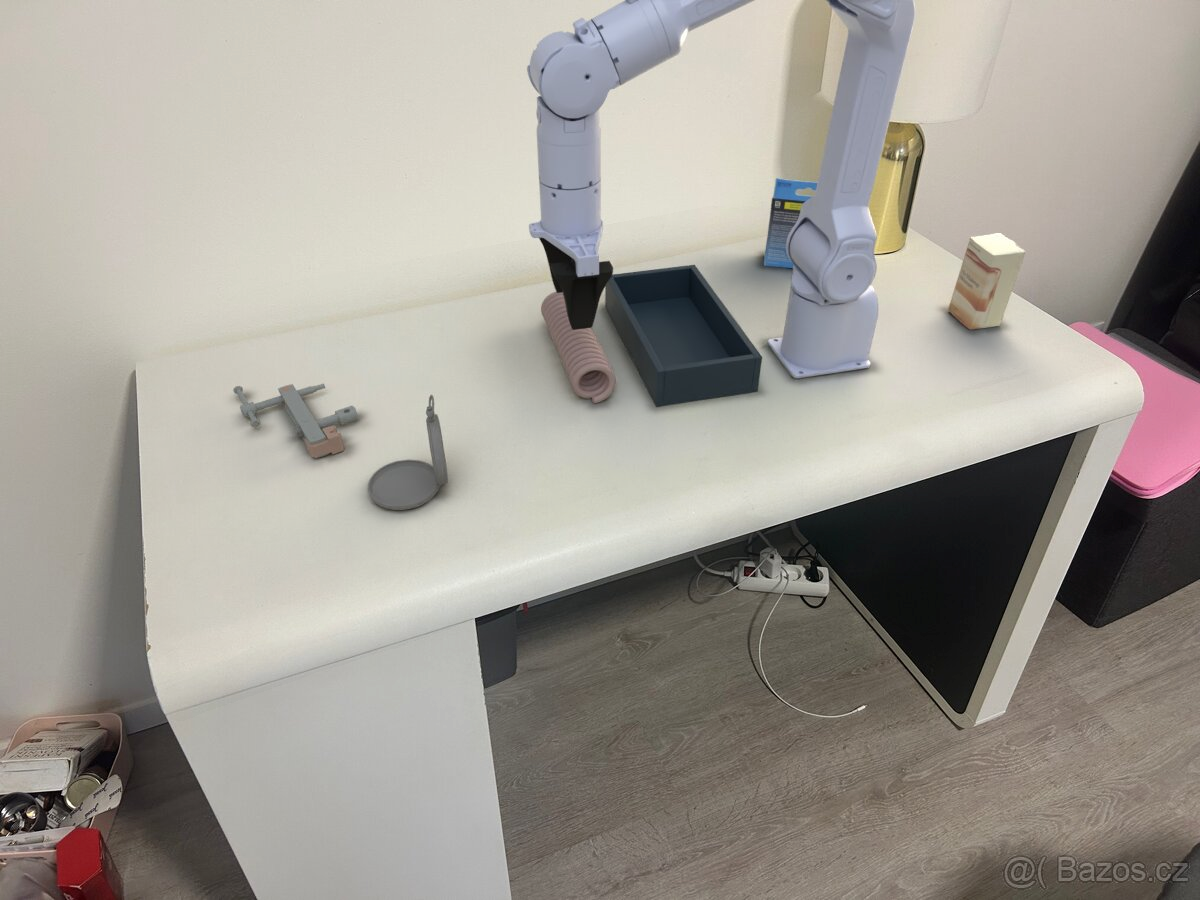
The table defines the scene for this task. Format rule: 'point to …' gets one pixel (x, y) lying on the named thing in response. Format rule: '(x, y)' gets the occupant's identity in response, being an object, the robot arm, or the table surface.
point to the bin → (681, 336)
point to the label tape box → (784, 219)
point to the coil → (578, 352)
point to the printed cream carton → (986, 280)
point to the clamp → (304, 419)
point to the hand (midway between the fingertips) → (573, 308)
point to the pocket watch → (412, 474)
